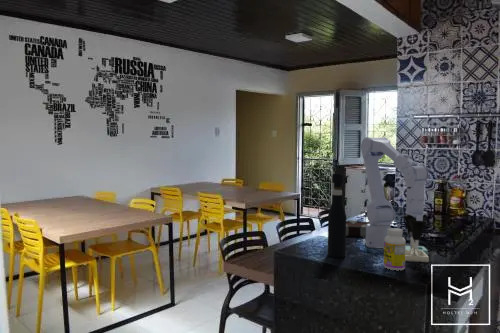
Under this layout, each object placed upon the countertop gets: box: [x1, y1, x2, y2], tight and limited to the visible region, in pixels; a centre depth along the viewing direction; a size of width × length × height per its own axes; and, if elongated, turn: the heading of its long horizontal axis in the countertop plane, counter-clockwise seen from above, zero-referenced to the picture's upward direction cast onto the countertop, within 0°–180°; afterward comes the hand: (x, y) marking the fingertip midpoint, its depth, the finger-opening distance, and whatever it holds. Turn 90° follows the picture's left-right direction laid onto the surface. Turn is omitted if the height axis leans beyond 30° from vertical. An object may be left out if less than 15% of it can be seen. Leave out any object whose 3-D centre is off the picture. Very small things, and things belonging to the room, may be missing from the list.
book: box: [346, 219, 370, 238], centre depth 180 cm, size 15×25×5 cm, turn 76°
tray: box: [405, 250, 430, 263], centre depth 140 cm, size 8×8×2 cm
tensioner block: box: [405, 245, 429, 256], centre depth 148 cm, size 8×6×2 cm
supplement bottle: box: [383, 227, 407, 272], centre depth 129 cm, size 7×7×13 cm
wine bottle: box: [327, 173, 347, 258], centre depth 143 cm, size 6×6×30 cm
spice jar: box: [409, 231, 419, 256], centre depth 140 cm, size 3×3×9 cm
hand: (413, 237), depth 140 cm, fingers open, 7 cm apart
